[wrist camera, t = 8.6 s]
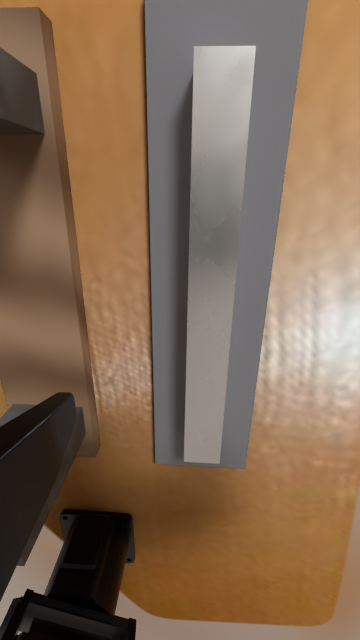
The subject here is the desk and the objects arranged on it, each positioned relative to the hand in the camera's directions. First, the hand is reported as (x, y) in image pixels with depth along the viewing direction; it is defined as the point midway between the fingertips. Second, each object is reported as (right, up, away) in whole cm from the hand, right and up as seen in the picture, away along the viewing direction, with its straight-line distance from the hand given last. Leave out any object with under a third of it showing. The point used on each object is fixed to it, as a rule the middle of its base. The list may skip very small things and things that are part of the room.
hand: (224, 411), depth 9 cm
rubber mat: (0, +4, +10) cm, 11 cm away
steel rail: (0, +4, +9) cm, 10 cm away
